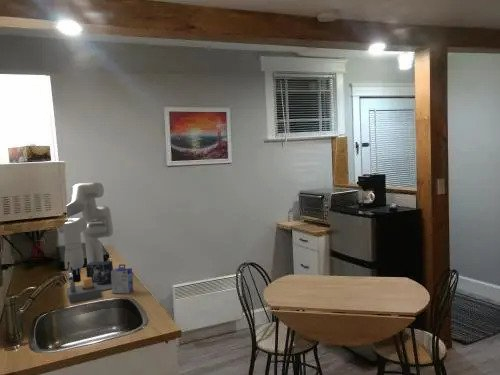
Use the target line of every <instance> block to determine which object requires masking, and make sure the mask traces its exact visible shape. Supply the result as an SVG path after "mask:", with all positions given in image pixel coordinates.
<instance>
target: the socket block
mask: <svg viewBox="0 0 500 375" xmlns="http://www.w3.org/2000/svg"><path fill="white" fill-rule="evenodd" d="M92 284H93V288H92V289H87V290H84V288H83V286H84V285H83V284H81V285H76V282H70V283H69V287H66V295H67V298H68V301H69V303H70V304H72V303H77V302H82V301H86V300H92V299H98V298H101V297H102V293H101V292H102V291H101V290H100V288H99V286H100V285H97V283H92Z"/></svg>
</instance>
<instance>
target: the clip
mask: <svg viewBox="0 0 500 375" xmlns="http://www.w3.org/2000/svg"><path fill="white" fill-rule="evenodd" d="M66 275H67V278H68V283H69V284H70V282H73V275H72V273H68V272H67V274H66Z"/></svg>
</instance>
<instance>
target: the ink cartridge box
mask: <svg viewBox="0 0 500 375" xmlns="http://www.w3.org/2000/svg"><path fill="white" fill-rule="evenodd" d="M111 279H112V289H111V290H112V291H111V292H112V294H130V293H132V292H134V281H133V280H134V279H133V269H132V267H131V268H130V267H129V268H127V267H126V264H124V263H123V264H122V263H121V264H120V263H119V265H118V268H113V270H112V271H111Z"/></svg>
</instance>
